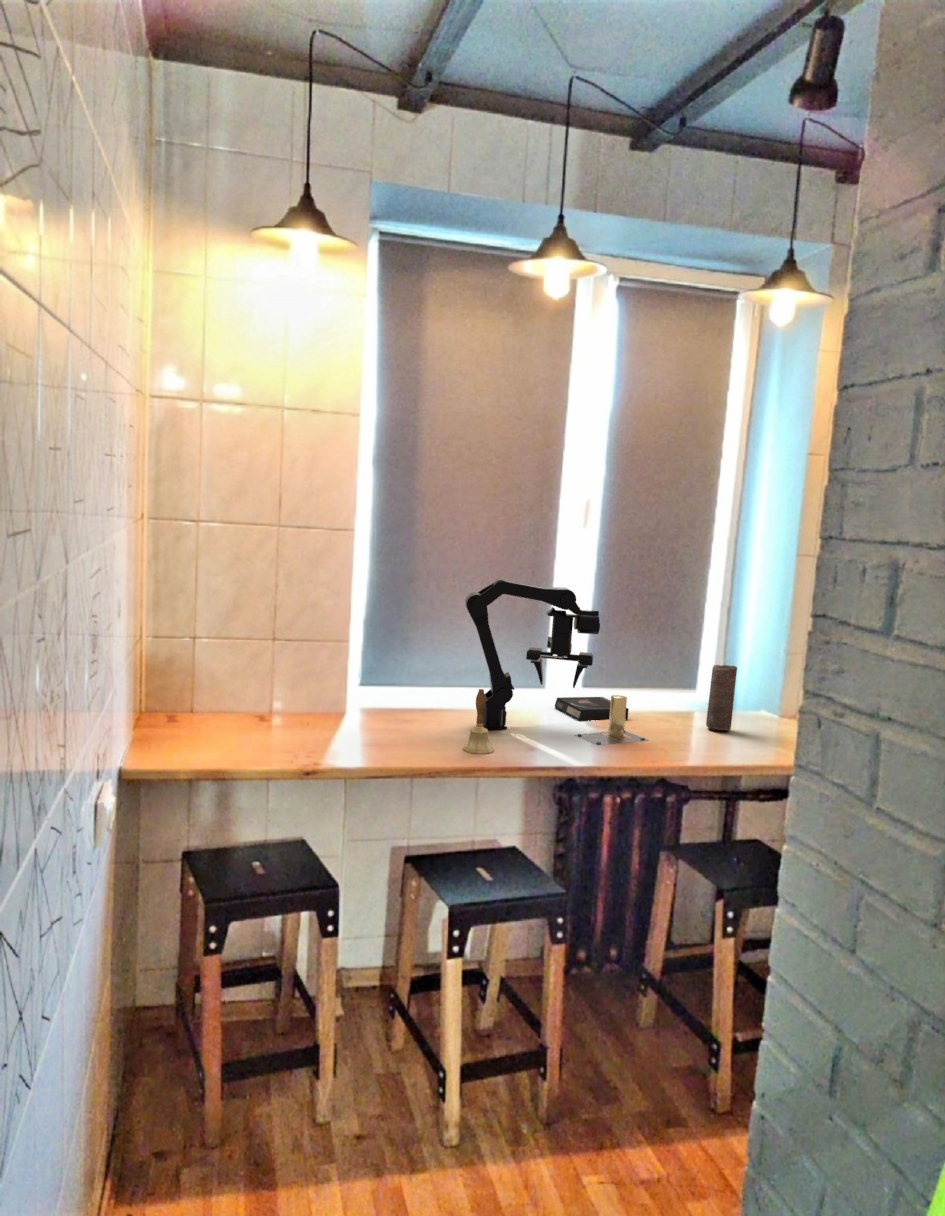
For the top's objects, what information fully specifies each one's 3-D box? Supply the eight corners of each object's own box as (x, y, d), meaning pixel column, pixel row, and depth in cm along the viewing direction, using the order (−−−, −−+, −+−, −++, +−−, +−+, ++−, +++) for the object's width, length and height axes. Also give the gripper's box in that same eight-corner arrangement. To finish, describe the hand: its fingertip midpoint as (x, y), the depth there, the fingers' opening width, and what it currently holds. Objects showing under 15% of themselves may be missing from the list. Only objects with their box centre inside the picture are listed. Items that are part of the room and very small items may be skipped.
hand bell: (467, 754, 236) (471, 693, 234) (458, 745, 244) (462, 686, 242) (498, 754, 238) (502, 693, 236) (488, 745, 246) (492, 686, 244)
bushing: (616, 743, 257) (620, 699, 255) (604, 739, 260) (607, 696, 258) (626, 741, 260) (630, 697, 258) (614, 737, 263) (617, 694, 261)
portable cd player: (554, 709, 295) (555, 697, 295) (601, 708, 301) (602, 696, 301) (578, 722, 280) (579, 709, 280) (627, 721, 286) (628, 708, 286)
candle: (729, 735, 276) (736, 668, 273) (704, 731, 278) (711, 665, 276) (731, 729, 283) (737, 665, 281) (706, 726, 285) (713, 662, 283)
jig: (597, 750, 248) (598, 743, 247) (572, 740, 257) (573, 733, 257) (648, 745, 257) (649, 738, 257) (623, 735, 266) (623, 729, 266)
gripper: (595, 631, 270) (591, 684, 271) (532, 625, 272) (528, 677, 274) (594, 636, 259) (589, 691, 260) (528, 630, 262) (524, 684, 263)
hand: (557, 686), depth 265 cm, fingers open, 9 cm apart
